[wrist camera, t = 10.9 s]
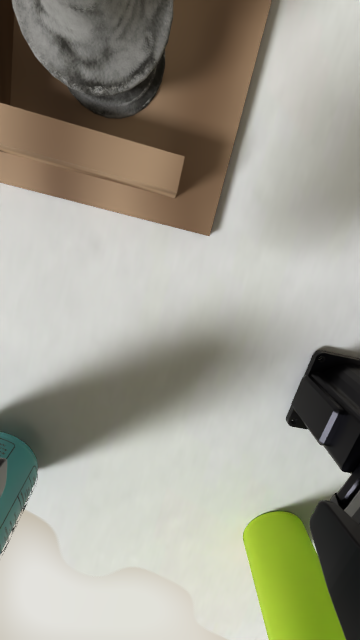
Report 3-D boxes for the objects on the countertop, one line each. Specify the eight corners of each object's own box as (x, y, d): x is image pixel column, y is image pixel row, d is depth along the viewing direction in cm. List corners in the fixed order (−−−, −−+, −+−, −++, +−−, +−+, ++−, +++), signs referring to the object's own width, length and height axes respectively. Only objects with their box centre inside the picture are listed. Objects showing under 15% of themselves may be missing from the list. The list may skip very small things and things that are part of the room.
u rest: (286, -66, 13) (333, -179, 9) (207, 235, 17) (219, 238, 14) (-86, -223, 11) (-208, -445, 7) (-72, 164, 15) (-146, 144, 11)
